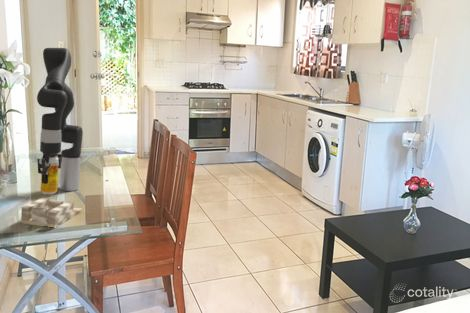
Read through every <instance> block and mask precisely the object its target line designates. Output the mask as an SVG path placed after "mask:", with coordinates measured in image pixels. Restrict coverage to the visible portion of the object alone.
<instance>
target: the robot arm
mask: <svg viewBox="0 0 470 313" xmlns="http://www.w3.org/2000/svg"><path fill="white" fill-rule="evenodd" d="M42 52H43V53H42V58H43V62H44V67H45V70H46V74H47V75H46V78H45V83H44V85H43V86H42V87H41V88H40V89H39V91H38V93H37V96H36V101H37V103H38V105H39V106H40V107H43V108H51V109H54V112H51V113H44V114H42V115H41V116H42V117H41V131H40V139H39V140H40V141H39V142H40V143H39V144H40V147H39V151H40V153H42V157H41V158H38V159H36V160H37V161H36V162H37V174H40V175H41V174H42V183H43V184H47V183H48V172H49V169H51V163H50V164H49V166H45V163H46V162H47V164H48V163H49V159H50V158H52V157H55V156H58V159H59V160H58V170H60V175H59V176H60V178H59V190H61V191H65V192H74V191H78V190H79V189H80V178H81V176H80V175H81V156H82V154H81V152H82V143H83V133H84V132H83V127H82V126H78V125H72V124H67V118H68V116H69V115H70V113H71V112H72V111H73V109H74V107H75V98H74V93H73V91H72V89H71V87H70V86H69V85H67V84H66V78H67V76H68V75H69V74H68V73H69V72H70V69H71V67H72V54H71V52H70V50H69V49H68V48H65V47H46V48H44V49H43V51H42ZM62 143H65V144H71V145H72V146H71V147H70V148H66V149H63V150H62ZM45 160H46V162H45ZM41 168H42V170H41ZM46 168H47V169H46Z"/></svg>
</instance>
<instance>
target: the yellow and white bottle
mask: <svg viewBox="0 0 470 313" xmlns="http://www.w3.org/2000/svg"><path fill="white" fill-rule="evenodd" d="M58 160H59V159H58V156H55V157H52V158H50V159H49V163H48V164H47V162H46V160H45V162H46V163H45V166H49V164H50V163H51V169H49V172H48V183H47V184H43V183H42V174H40V192H41V193H42V194H44V195H54V194H56V193H57V192H58V183H59V181H58V179H59V169H58V164H59V163H58ZM46 169H47V168H46ZM41 170H42V168H41Z"/></svg>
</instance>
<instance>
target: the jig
mask: <svg viewBox="0 0 470 313" xmlns="http://www.w3.org/2000/svg"><path fill="white" fill-rule="evenodd" d="M74 206H75V205H74V202H71V201H66V202H65V201H64V200H58V199H50V198H44V197H42V198H39V199H37V200H35V201H32V202H30V203H28V204H26V205H24V206H21V221H20V223H21V224H25V225H31V226H37V227H43V226H49V227H55V226H57V225H60V224H61V225H63V224H64V223H66V222H68V221H70V220H71V219H72V218H74V217H76V216H77V215H79V214H81V213H82V212H83V208H81V207H74ZM62 223H63V224H62ZM61 225H60V226H61ZM49 227H48V228H49Z"/></svg>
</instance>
